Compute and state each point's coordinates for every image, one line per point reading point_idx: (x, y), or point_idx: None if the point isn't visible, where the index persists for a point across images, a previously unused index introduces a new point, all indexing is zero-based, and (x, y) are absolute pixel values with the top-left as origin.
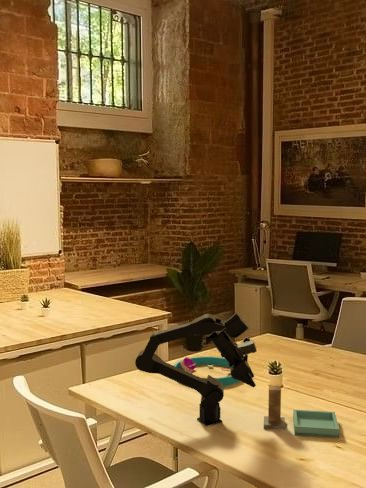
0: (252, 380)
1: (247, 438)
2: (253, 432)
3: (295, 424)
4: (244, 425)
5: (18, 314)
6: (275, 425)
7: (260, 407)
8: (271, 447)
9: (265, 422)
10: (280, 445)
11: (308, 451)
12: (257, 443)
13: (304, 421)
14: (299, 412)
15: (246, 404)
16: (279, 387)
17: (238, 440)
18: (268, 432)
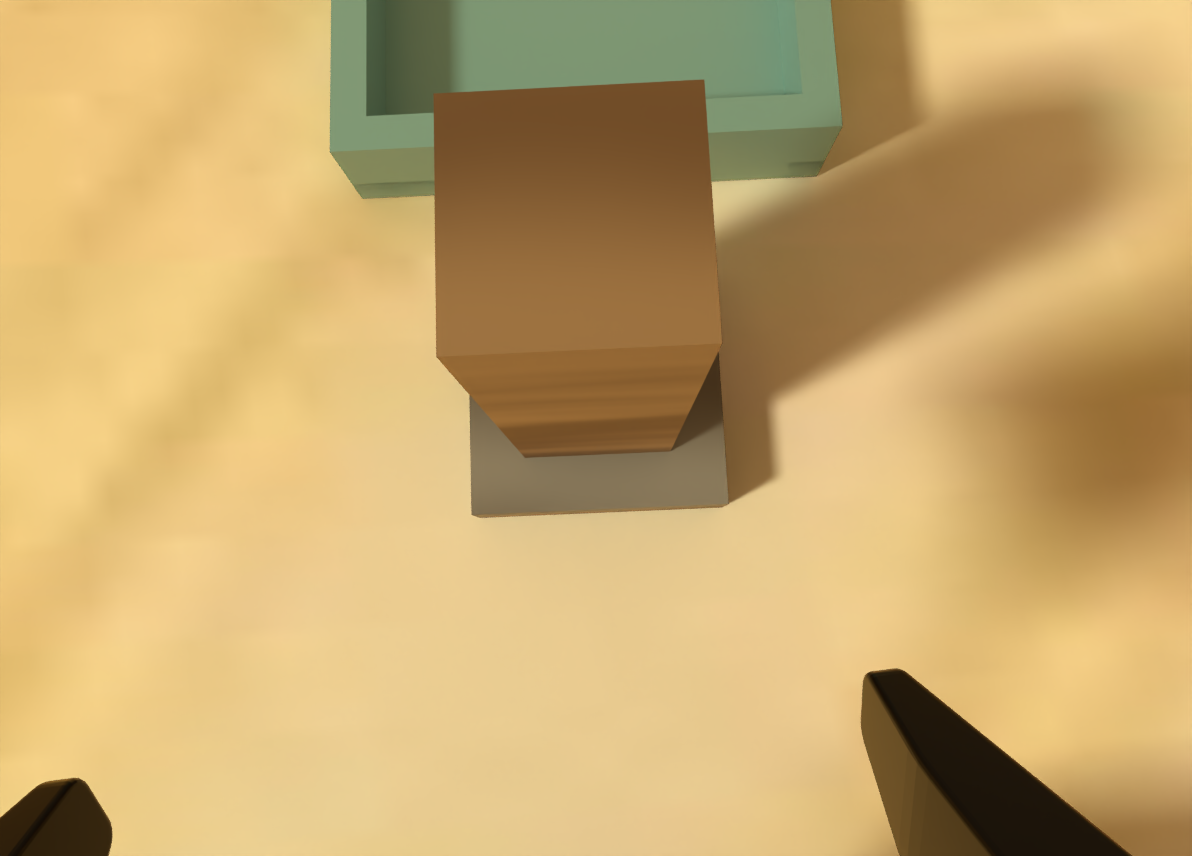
0: (1085, 824)
1: (1022, 675)
2: (846, 617)
3: (786, 118)
4: (674, 742)
5: None
6: (718, 365)
7: (98, 584)
8: (1169, 398)
9: (663, 486)
10: (1094, 309)
11: (1148, 46)
12: (1117, 552)
13: (515, 64)
14: (371, 91)
15: (14, 775)
16: (529, 116)
17: (1103, 777)
18: (806, 448)
